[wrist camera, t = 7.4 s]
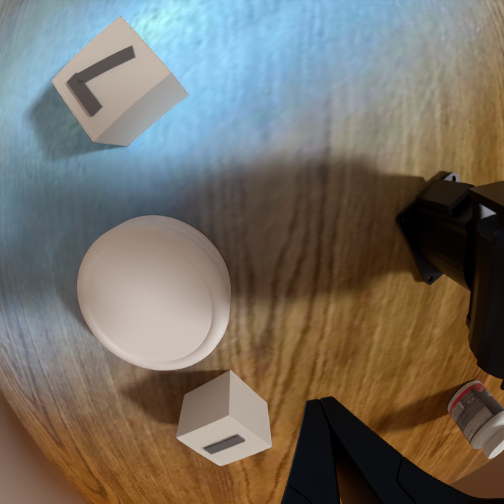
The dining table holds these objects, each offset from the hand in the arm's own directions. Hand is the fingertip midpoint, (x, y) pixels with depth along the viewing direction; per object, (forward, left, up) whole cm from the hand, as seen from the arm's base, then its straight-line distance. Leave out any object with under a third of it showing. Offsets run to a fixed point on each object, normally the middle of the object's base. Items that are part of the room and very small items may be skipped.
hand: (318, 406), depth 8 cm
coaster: (+4, +7, -12) cm, 15 cm away
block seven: (+15, 0, -12) cm, 19 cm away
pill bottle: (-28, -9, -12) cm, 32 cm away
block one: (-7, +10, -12) cm, 17 cm away
